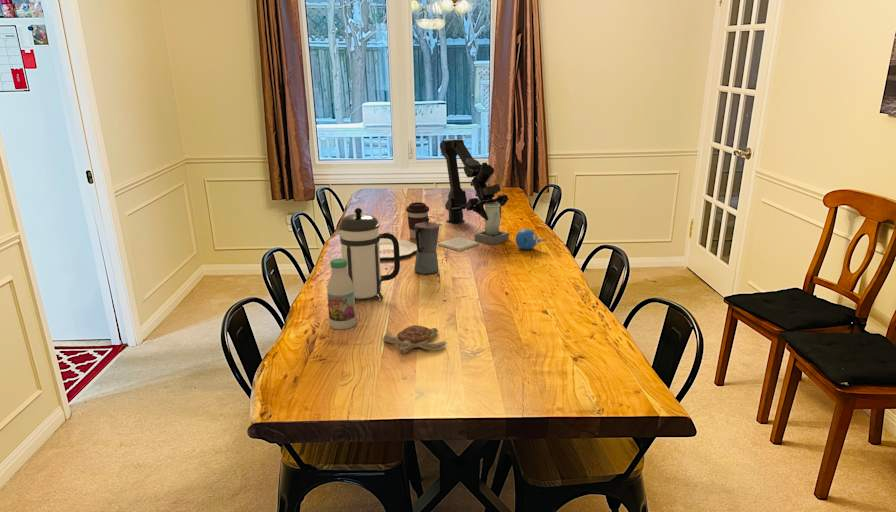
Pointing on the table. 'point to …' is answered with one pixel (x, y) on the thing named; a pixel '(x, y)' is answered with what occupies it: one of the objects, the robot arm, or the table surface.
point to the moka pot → (426, 247)
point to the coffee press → (365, 253)
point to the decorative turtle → (414, 338)
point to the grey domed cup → (492, 218)
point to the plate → (404, 248)
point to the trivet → (458, 243)
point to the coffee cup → (416, 216)
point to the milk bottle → (341, 296)
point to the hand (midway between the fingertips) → (493, 219)
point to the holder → (491, 237)
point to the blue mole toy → (527, 239)
